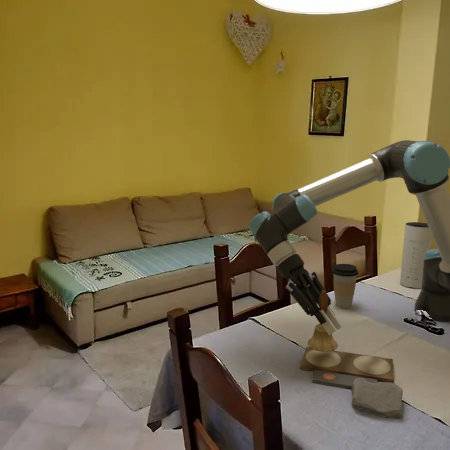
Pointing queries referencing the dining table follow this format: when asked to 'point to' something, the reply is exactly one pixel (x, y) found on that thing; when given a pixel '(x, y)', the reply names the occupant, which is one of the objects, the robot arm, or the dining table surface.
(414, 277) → the white tall cylinder
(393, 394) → the stone block
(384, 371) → the board
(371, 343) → the dining table surface
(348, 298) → the coffee cup
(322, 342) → the hand bell
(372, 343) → the dining table surface
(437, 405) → the dining table surface
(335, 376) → the pattern card
